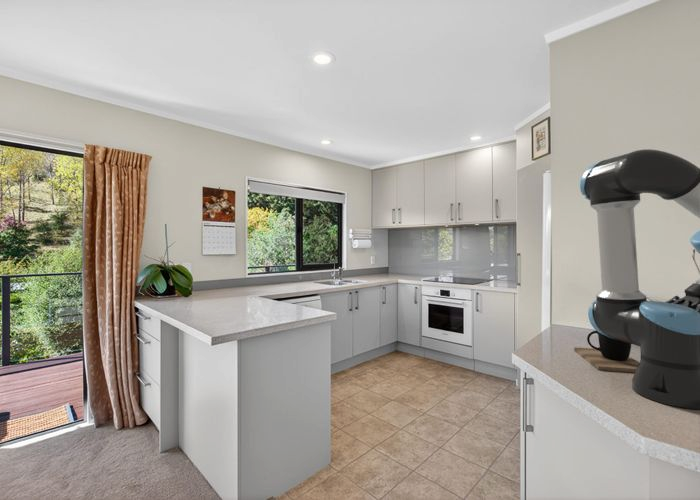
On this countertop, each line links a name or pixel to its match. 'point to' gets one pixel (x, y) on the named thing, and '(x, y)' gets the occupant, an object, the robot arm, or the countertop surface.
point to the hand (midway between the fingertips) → (649, 335)
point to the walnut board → (606, 361)
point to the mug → (611, 347)
